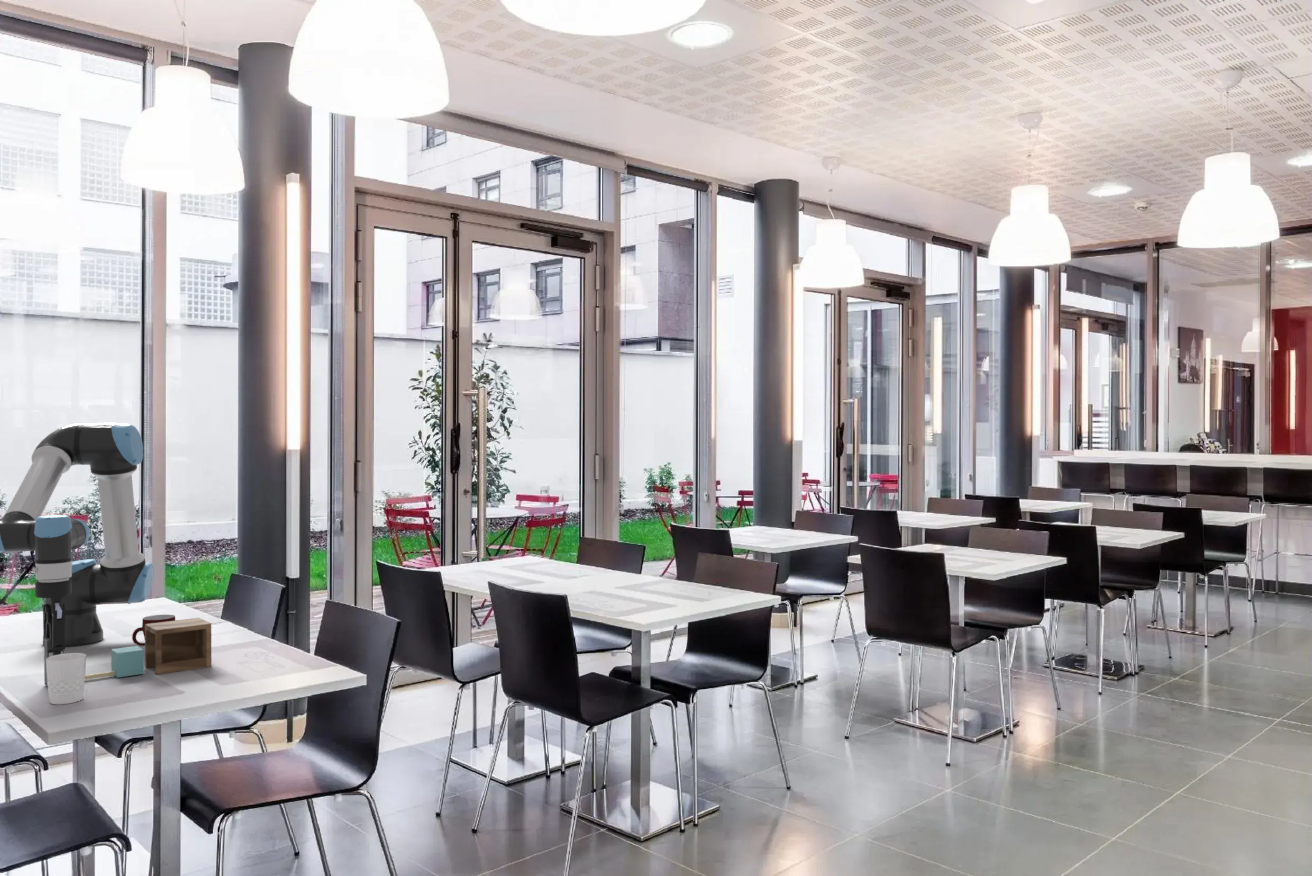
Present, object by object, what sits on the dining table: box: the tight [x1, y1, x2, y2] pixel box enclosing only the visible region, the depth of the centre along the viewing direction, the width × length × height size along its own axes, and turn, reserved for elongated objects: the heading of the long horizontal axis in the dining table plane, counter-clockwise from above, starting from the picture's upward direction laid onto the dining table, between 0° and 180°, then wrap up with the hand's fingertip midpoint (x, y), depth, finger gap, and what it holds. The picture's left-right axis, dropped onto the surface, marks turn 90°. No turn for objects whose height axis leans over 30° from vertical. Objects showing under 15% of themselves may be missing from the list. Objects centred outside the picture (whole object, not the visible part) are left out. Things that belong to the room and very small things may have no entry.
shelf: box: [144, 617, 213, 676], centre depth 258 cm, size 10×13×11 cm
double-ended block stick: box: [43, 638, 145, 688], centre depth 245 cm, size 6×21×11 cm, turn 131°
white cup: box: [46, 652, 87, 705], centre depth 226 cm, size 8×8×10 cm
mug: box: [131, 614, 176, 647], centre depth 272 cm, size 11×8×10 cm
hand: (54, 676), depth 239 cm, fingers closed on double-ended block stick, 3 cm apart
